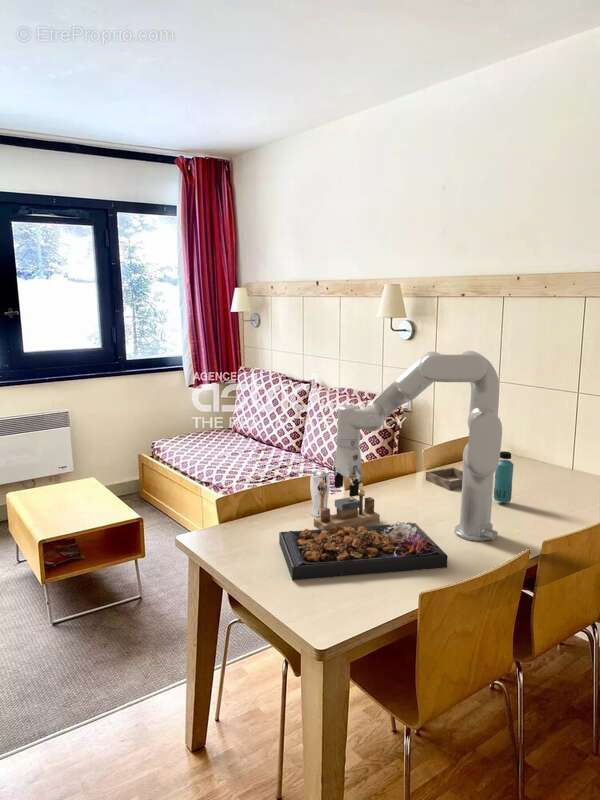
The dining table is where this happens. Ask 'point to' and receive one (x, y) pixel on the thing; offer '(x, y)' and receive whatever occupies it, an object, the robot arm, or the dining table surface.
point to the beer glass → (319, 491)
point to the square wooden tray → (439, 476)
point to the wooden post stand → (348, 516)
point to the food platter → (359, 551)
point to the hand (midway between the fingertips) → (346, 491)
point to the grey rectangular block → (347, 503)
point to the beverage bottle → (503, 478)
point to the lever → (361, 490)
